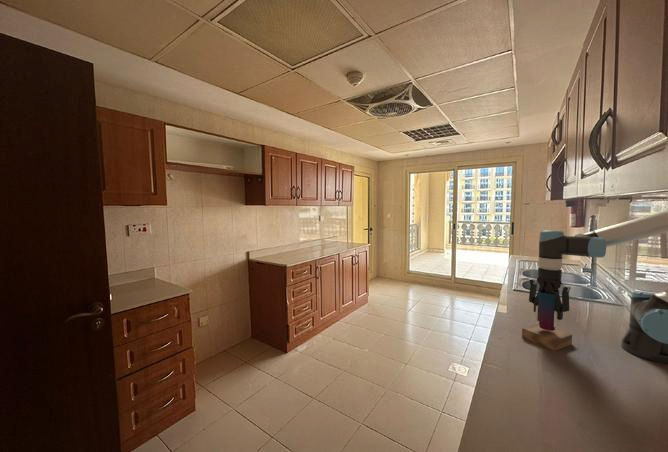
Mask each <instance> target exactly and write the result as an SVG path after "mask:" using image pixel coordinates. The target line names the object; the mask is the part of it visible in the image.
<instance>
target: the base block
mask: <svg viewBox="0 0 668 452" xmlns="http://www.w3.org/2000/svg"><path fill="white" fill-rule="evenodd" d="M521 330H522V331H521V338H522V339H525V340H527V341H530V342H531V343H535V344H537V345H540V346H542V347H544V348H546V349H550V350H552V351H554V352H556V351H558V350H560V349H563V348H566V347H570V346H572V343H573V334H571V333H569V332H565V331H563V330H559V329H557V328H555V330H554V331H549V330H545V329H542V328H540V327H539V322H537V323H535V324H532V325H529V326H526V327H522V329H521Z"/></svg>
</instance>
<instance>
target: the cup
mask: <svg viewBox="0 0 668 452" xmlns="http://www.w3.org/2000/svg"><path fill="white" fill-rule="evenodd" d="M537 293H538V302H539V321H538V323H539V327H540V328H542V329H545V330H549V331H554V330H555V329H556V328H555V327H554V311H557V309H556V306H555V300H556V296H557V297H559V296H560V293H559V294H558V295H552V294H551V292H550V291H548V290H546V291H545V293H541V292H539V289H538V291H537Z"/></svg>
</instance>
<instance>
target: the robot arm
mask: <svg viewBox="0 0 668 452" xmlns="http://www.w3.org/2000/svg"><path fill="white" fill-rule="evenodd" d="M667 233H668V209H666V210H663V211H659V212H656V213H653V214H649V215H645V216H642V217H637V218H634V219H631V220H627V221H623V222H620V223H617V224H612V225H609V226H605V227H602V228H599V229H595V230H591V231H587V232H584V233H578V234H575V235H574V236H571V235H570V236H569V235H565V234H564V231H563V230H556V229H555V230H553V229H545V230H541V231H540V233H539V240H538V262H537V263H538V264H537V266H538V269H537V277H536V279H535V278H532V279H529V285H530V287H529V296H528V297H529V298H528V302H529V303H532V305H533V312H534V313H535V317H534V319H535V321H536V322H539V302H538V292H537V289H538V290H539V292H541V293H545V291H546V290H548V291H550V292H551V294H552V295H558V294H559V297H557V296H556V300H555V306H556V309H557V311H554V327H555V329H557V328H559V327H561V326H560V324H561V320H563V318H564V317H563V316H564V313H566V312H569V311H570V290H571V286H569V285H565V284H563V282H562V272H563V271H562V270H561V269H562V268H563V255H564V256H575V257H576V256H577V257H585V258H586V257H588V258H592V259H593V258H604V257H605V256H606V255H607V248H608V247H609V248H610V247H613V246H617V245H621V244H622V245H623V244H626V243H630V242H633V241H637V240H642V239H647V238H651V237H655V236H658V235H664V234H667ZM538 284H539V285H538ZM538 286H539V287H538ZM559 289H560V290H561V296H560V290H559ZM629 299H630V308H629V309H630V310H629V311H630V312H629V321H628V322H629V324H628V325H629V326H628V328H627V331H626V332H625V334H624V336H623V337H622V339H621V342H620V343H621V345H620V346H621V348H622V349H623V350H625V351H626V352H627V353H631V354H632V355H635V356H637V357H640V358H642V359H647V360H649V361H654V362H656V363H657V362H658V363H661V364H668V285H666V287H665V289H664V290H663V291H659V292H652V291H651V292H650V291H641V290H639V291H638V290H635V291H632V292H631V296H630V298H629Z"/></svg>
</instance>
